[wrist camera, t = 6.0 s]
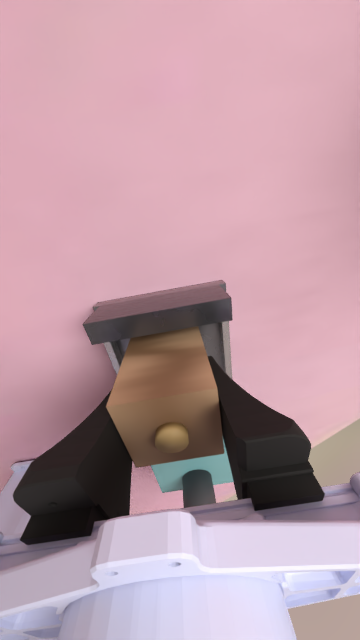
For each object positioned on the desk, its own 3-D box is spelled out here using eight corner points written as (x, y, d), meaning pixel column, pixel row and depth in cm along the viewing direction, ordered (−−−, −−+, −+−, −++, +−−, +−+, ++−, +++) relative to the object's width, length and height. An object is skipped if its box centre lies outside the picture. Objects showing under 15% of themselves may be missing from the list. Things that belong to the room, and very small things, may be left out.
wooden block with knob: (147, 386, 16) (134, 478, 10) (130, 337, 14) (102, 416, 8) (205, 377, 16) (227, 463, 10) (197, 325, 14) (220, 397, 8)
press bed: (158, 457, 24) (156, 497, 21) (97, 302, 15) (74, 325, 11) (233, 445, 24) (244, 483, 20) (222, 279, 14) (239, 296, 11)
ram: (163, 461, 23) (160, 568, 15) (151, 430, 20) (142, 543, 13) (228, 451, 22) (255, 555, 15) (225, 419, 20) (257, 525, 13)
